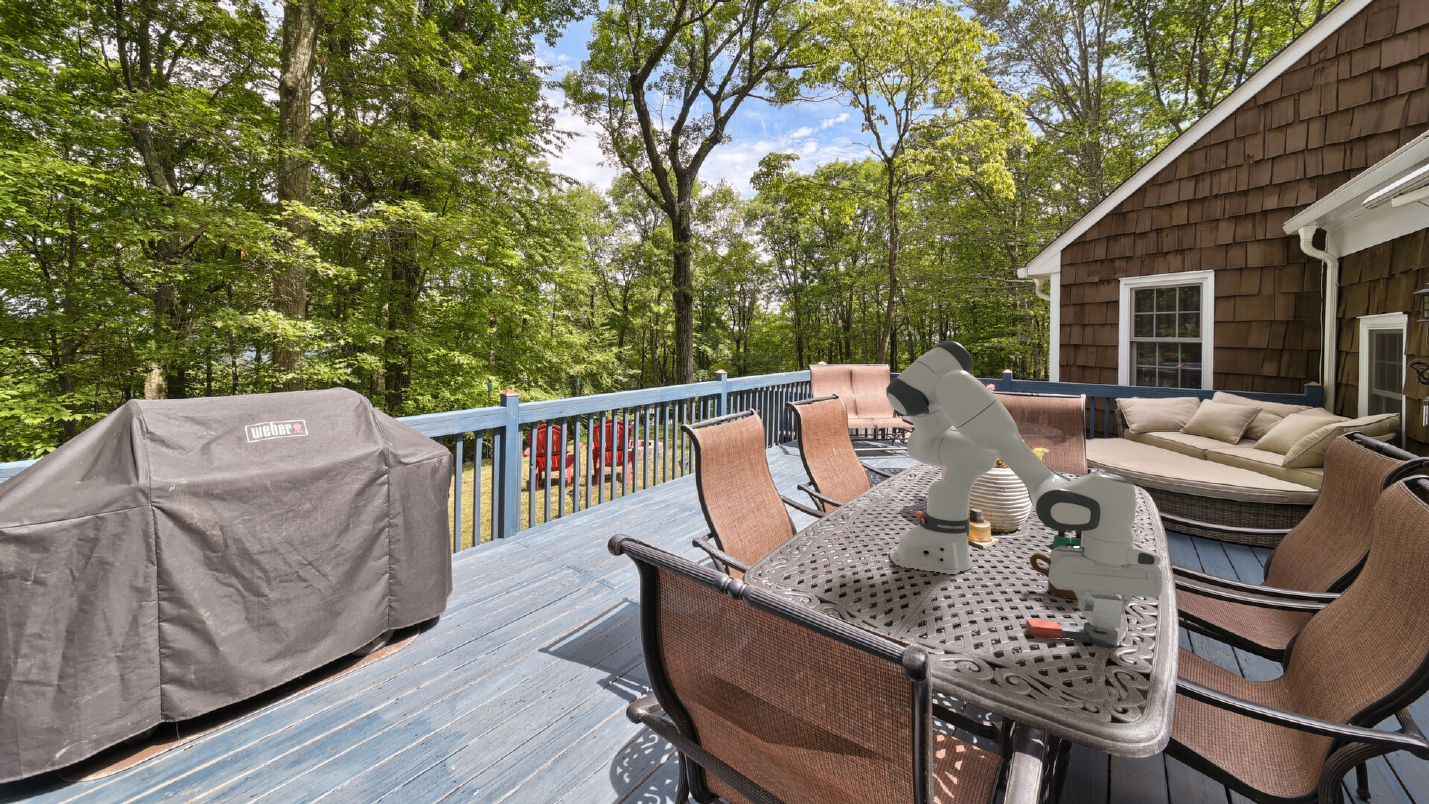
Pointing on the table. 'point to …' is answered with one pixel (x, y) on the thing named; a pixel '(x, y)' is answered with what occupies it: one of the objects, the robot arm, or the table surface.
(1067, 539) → the binoculars
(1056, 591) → the mug
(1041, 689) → the table surface
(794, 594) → the table surface
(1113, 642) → the ratchet
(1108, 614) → the silver metal block
